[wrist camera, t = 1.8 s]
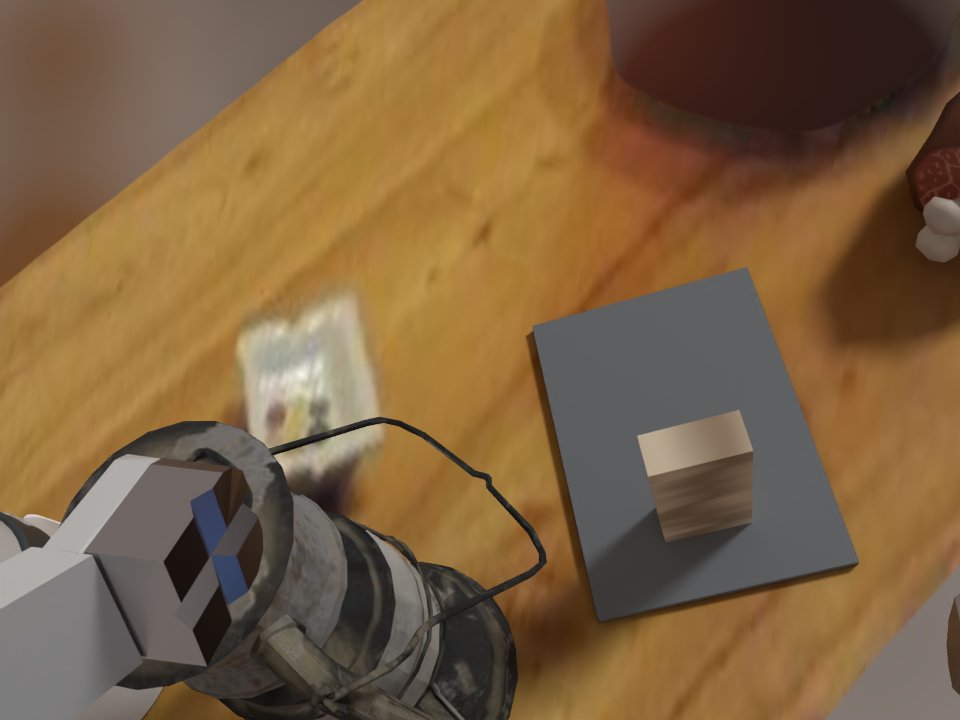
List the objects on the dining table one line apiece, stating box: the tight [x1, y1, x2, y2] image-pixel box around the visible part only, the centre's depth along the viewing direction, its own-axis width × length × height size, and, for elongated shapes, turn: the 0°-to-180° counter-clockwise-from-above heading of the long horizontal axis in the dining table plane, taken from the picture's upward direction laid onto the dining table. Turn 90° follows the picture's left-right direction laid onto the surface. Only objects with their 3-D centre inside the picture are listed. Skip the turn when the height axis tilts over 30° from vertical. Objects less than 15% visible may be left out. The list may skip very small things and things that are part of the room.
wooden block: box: [637, 410, 753, 543], centre depth 53 cm, size 6×2×12 cm, turn 99°
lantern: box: [58, 417, 547, 720], centre depth 47 cm, size 19×19×30 cm
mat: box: [532, 267, 859, 623], centre depth 61 cm, size 16×22×1 cm
